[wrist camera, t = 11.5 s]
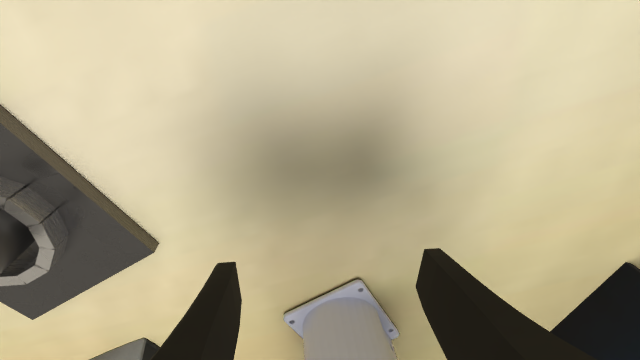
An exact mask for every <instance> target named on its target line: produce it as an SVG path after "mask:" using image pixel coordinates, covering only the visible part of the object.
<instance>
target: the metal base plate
mask: <svg viewBox="0 0 640 360" xmlns="http://www.w3.org/2000/svg"><path fill="white" fill-rule="evenodd" d="M0 208H2V209H3V210H5V211H6V212H7V213H9V214H10V215H12V216H13V217H15V218H16V219H17V220H19V221H20V222H22V223H23V224H24V225H26V226H27V227H28V228H29V230H30V232H31V234H32V235H33V237H34V239H35V241H34V242H33V243H32V244H31V245H30V246H29V247H28V248H27V249H26V250H25V251H24V252H23V253H22V254H21V255H20V256H19V257H17V258H16V259H15V260H14V261H13V262H12V263H11V264H10V265H9V266H8V267H7V268H6V269H5V270H4V271H3V272H2V273H1V274H0V302H2V303H3V304H5V305H7V306H9V307H10V308H12V309H14V310H16V311H18V312H19V313H21V314H23V315H25V316H27V317H28V318H30V319H32V320H34V319H35V318H37V317H39V316H41V315H43V314H44V313H46V312H48V311H50V310H52V309H53V308H55V307H57V306H59V305H61V304H62V303H64V302H66V301H68V300H70V299H71V298H73V297H75V296H77V295H79V294H80V293H82V292H84V291H86V290H88V289H89V288H91V287H93V286H95V285H97V284H98V283H100V282H102V281H104V280H106V279H107V278H109V277H111V276H113V275H115V274H116V273H118V272H120V271H122V270H124V269H125V268H127V267H129V266H131V265H133V264H134V263H136V262H138V261H140V260H142V259H143V258H145V257H147V256H149V255H151V254H152V253H154V252H155V250H156V248H157V246H158V244H159V243H158V242H157V241H156V240H155V239H153V238H152V237H151V236H150V235H149V234H148V233H147V232H145V231H144V230H143V229H142V228H141V227H140V226H138V225H137V224H136V223H135V222H134V221H133V220H132V219H130V218H129V217H128V216H127V215H126V214H125V213H124V212H122V211H121V210H120V209H119V208H118V207H117V206H115V205H114V204H113V203H112V202H111V201H110V200H109V199H107V198H106V197H105V196H104V195H103V194H102V193H101V192H99V191H98V190H97V189H96V188H95V187H94V186H93V185H91V184H90V183H89V182H88V181H87V180H86V179H84V178H83V177H82V176H81V175H80V174H79V173H78V172H76V171H75V170H74V169H73V168H72V167H71V166H70V165H68V164H67V163H66V162H65V161H64V160H63V159H61V158H60V157H59V156H58V155H57V154H56V153H55V152H53V151H52V150H51V149H50V148H49V147H48V146H47V145H45V144H44V143H43V142H42V141H41V140H40V139H39V138H37V137H36V136H35V135H34V134H33V133H32V132H30V131H29V130H28V129H27V128H26V127H25V126H24V125H22V124H21V123H20V122H19V121H18V120H17V119H16V118H14V117H13V116H12V115H11V114H10V113H9V112H7V111H6V110H5V109H4V108H3V107H2V106H1V105H0Z"/></svg>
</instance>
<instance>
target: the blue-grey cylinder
mask: <svg viewBox="0 0 640 360" xmlns="http://www.w3.org/2000/svg"><path fill="white" fill-rule="evenodd" d="M34 241H35V239H34V237H33V235H32V234H31V232H30V230H29V228H28V227H27V226H26V225H24V224H23V223H22V222H20V221H19V220H17V219H16V218H15V217H13V216H12V215H10V214H9V213H7V212H6V211H5V210H3V209H2V208H0V274H1V273H2V272H3V271H4V270H5V269H6V268H7V267H8V266H9V265H10V264H11V263H12V262H13V261H14V260H15V259H16V258H17V257H19V256H20V255H21V254H22V253H23V252H24V251H25V250H26V249H27V248H28V247H29V246H30V245H31V244H32V243H33V242H34Z"/></svg>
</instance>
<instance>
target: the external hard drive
mask: <svg viewBox="0 0 640 360" xmlns="http://www.w3.org/2000/svg"><path fill="white" fill-rule="evenodd" d="M159 348H160V347H158V346H157V345H155V344H154V343H152V342H151V341H149V340H148V339H146V338H142V339H139V340H136V341H133V342H130V343H128V344H125V345H123V346H120V347H118V348H115V349H113V350H111V351H108V352H106V353H104V354H101V355H99V356H97V357H94V358H92V359H90V360H150V359H151V358H152V357H153V356H154V354H155V353H156V352H157V351H158V350H159Z"/></svg>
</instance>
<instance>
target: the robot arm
mask: <svg viewBox="0 0 640 360" xmlns="http://www.w3.org/2000/svg"><path fill="white" fill-rule="evenodd" d="M359 288H360V289H359ZM416 289H417V292H418V295H419V298H420V301H421V304H422V307H423V310H424V312H425V315H426V317H427V319H428V321H429V323H430V325H431V327H432V329H433V331H434V334H435V336H436V338H437V340H438V342H439V344H440V346H441V348H442V350H443V352H444V354H445V356H446V358H447V360H597V359H595V358H594V357H592V356H590V355H588V354H586V353H585V352H583V351H581V350H579V349H578V348H576V347H574V346H572V345H571V344H569V343H567V342H565V341H564V340H562V339H560V338H559V337H557V336H556V335H554V334H552V333H551V332H549V331H548V330H546V329H544V328H543V327H541V326H540V325H538V324H537V323H535V322H534V321H532V320H531V319H529V318H528V317H526V316H525V315H523V314H522V313H520V312H519V311H518V310H516V309H515V308H513V307H512V306H511V305H509V304H508V303H507V302H505V301H504V300H503V299H501V298H500V297H499V296H497V295H496V294H495V293H493V292H492V291H491V290H489V289H488V288H487V287H486V286H484V285H483V284H482V283H481V282H479V281H478V280H477V279H476V278H475V277H473V276H472V275H471V274H470V273H469V272H467V271H466V270H465V269H464V268H463V267H461V266H460V265H459V264H458V263H457V262H455V261H454V260H453V259H452V258H451V257H449V256H448V255H447V254H446V253H445V252H443V251H442V250H441V249H440V248H437V249H424V253H423V257H422V261H421V266H420V270H419V274H418V278H417V283H416ZM241 302H242V299H241V293H240V287H239V281H238V275H237V268H236V262H226V263H218V264H217V265H216V266H215V268H214V270H213V271H212V273H211V275H210V277H209V278H208V280H207V282H206V283H205V285H204V286H203V288H202V290H201V291H200V293H199V294H198V296H197V297H196V299H195V300H194V302H193V303H192V305H191V306H190V308H189V309H188V311H187V312H186V314H185V315H184V317H183V318H182V319H181V321H180V322H179V323H178V325H177V326H176V327H175V329H174V330H173V331H172V333H171V334H170V336H169V337H168V338H167V339H166V341H165V342H164V343H163V345H162V346H161V347H160V348H159V350H158V351H157V352H156V353H155V354H154V356H153V357H152V358H151V359H150V360H233V359H234V354H235V349H236V344H237V338H238V333H239V327H240V315H241ZM284 321H285V322H286V323H287V324H288V325H289V326H290V327H291V328H292V329H293V330H294V331H295V332H296V333H297V334H298V335H299V336H300V337H302V338H303V342H304V357H305V360H398V359H397V356H396V353H395V350H394V347H393V344H392V341H391V340H392V339H395V338H397V337H398V336H399V332H398V330H397V328H396V327H395V326H394V324H393V323H392V321H391V320H390V319H389V317H388V316H387V314H386V313H385V312H384V310H383V309H382V308H381V306H380V305H379V303H378V302H377V301H376V299H375V298H374V297H373V295H372V294H371V292H370V291H369V290H368V288H367V287H366V286H365V284H364V283H363V281H362V280H354V281H352V282H350V283H348V284H346V285H344V286H342V287H340V288H337V289H335V290H333V291H331V292H329V293H327V294H325V295H323V296H321V297H319V298H316V299H314V300H312V301H310V302H308V303H306V304H304V305H302V306H300V307H297V308H295V309H293V310H291V311H289V312H287V313H285V314H284Z"/></svg>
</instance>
